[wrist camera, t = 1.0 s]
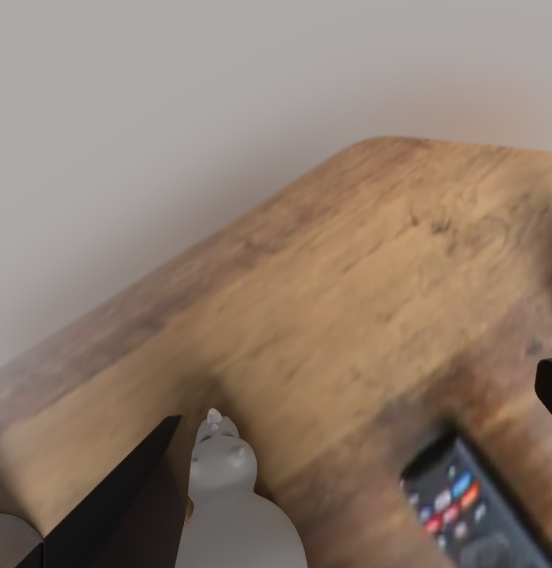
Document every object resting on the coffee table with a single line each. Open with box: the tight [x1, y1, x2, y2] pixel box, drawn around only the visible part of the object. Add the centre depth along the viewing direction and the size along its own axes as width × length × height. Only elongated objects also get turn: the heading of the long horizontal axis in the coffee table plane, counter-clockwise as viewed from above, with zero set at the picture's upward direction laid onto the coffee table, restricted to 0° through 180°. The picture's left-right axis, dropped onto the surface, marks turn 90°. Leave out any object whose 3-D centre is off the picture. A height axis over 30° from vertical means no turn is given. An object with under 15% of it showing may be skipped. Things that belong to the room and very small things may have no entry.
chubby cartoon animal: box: [175, 408, 307, 568], centre depth 19 cm, size 7×12×8 cm, turn 12°
